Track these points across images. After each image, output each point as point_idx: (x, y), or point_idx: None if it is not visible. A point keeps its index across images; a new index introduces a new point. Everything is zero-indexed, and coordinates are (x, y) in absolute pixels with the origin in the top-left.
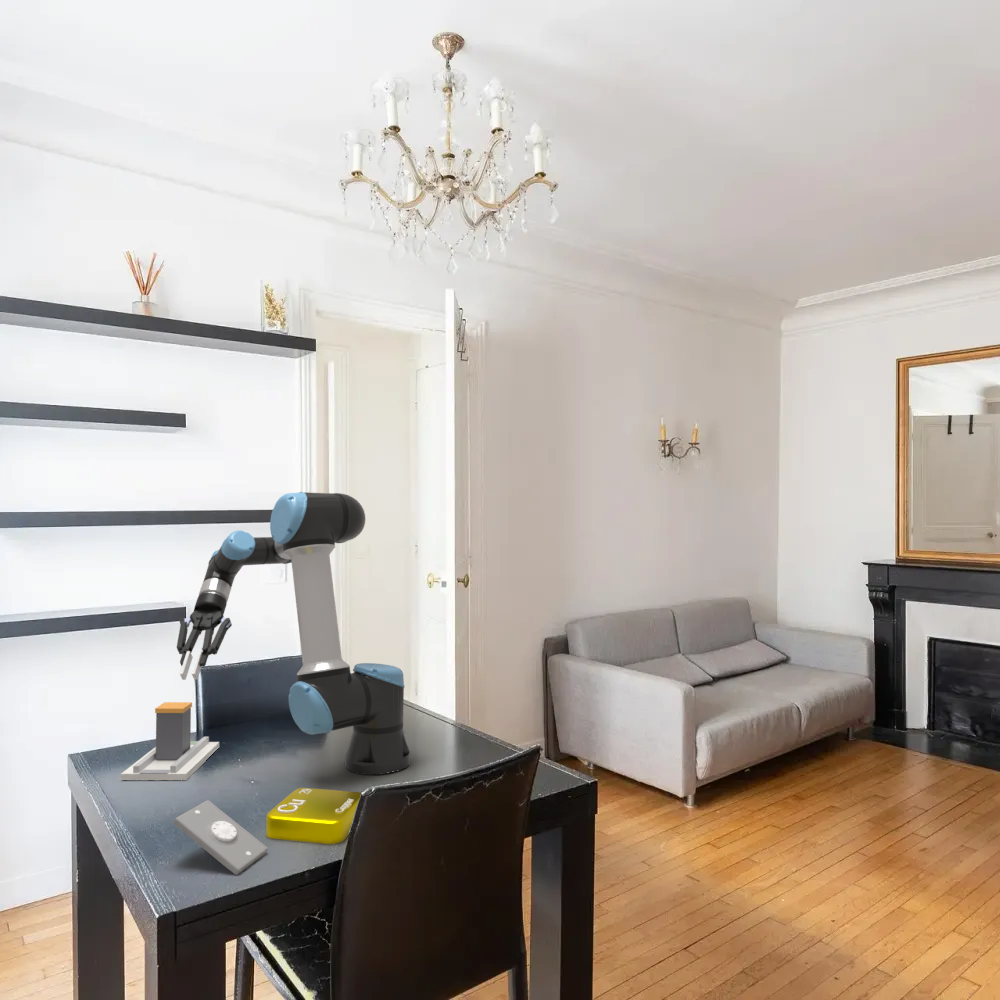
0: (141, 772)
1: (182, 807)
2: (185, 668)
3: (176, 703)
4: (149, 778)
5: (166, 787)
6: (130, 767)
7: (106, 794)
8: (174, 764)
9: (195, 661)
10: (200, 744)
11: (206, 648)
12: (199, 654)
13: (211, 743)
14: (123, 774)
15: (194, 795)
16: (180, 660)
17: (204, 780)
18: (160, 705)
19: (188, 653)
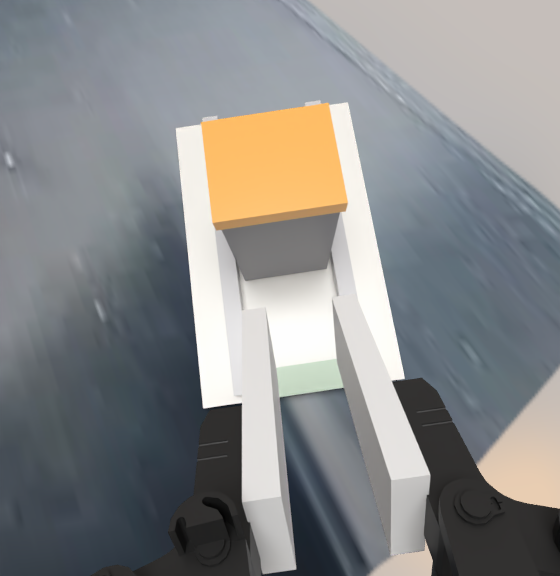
0: None
1: (116, 7)
2: (344, 349)
3: (277, 192)
4: None
5: (207, 95)
6: (353, 147)
7: (324, 39)
8: None
9: (270, 385)
10: (224, 310)
11: (175, 533)
12: (255, 459)
13: (223, 388)
14: (340, 104)
15: (118, 64)
16: (440, 400)
17: (134, 148)
18: (334, 151)
19: (391, 450)
